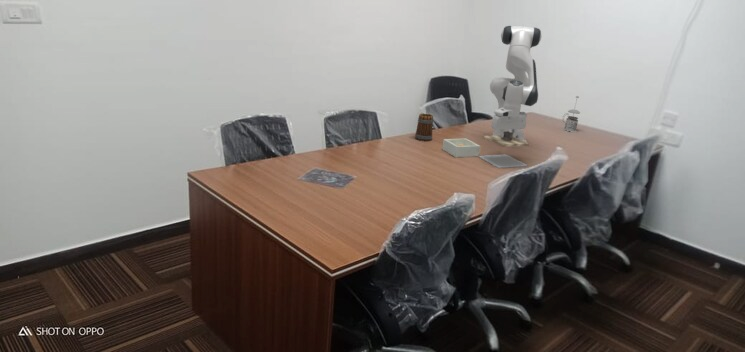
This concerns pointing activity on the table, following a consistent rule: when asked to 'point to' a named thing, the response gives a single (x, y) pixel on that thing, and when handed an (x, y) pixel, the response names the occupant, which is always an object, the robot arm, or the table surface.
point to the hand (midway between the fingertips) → (506, 137)
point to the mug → (424, 127)
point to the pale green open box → (461, 147)
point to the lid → (506, 140)
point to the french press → (571, 120)
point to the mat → (502, 161)
